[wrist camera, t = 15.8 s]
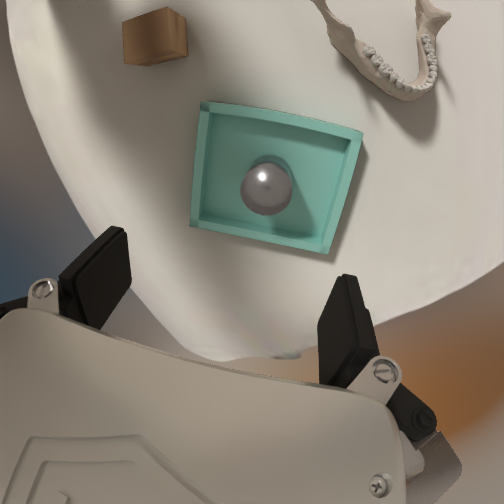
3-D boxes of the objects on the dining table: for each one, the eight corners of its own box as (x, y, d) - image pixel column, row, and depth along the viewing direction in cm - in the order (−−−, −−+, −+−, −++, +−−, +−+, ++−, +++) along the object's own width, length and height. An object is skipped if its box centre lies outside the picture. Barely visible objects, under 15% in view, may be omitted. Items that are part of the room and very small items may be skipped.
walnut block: (147, 66, 24) (124, 63, 20) (145, 29, 22) (122, 22, 17) (188, 56, 23) (170, 49, 19) (185, 18, 21) (167, 6, 17)
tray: (195, 217, 33) (189, 226, 31) (207, 101, 26) (201, 101, 24) (325, 244, 33) (327, 254, 31) (358, 130, 25) (363, 133, 23)
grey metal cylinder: (246, 191, 30) (236, 210, 25) (252, 151, 28) (244, 162, 23) (287, 199, 30) (286, 220, 25) (296, 159, 28) (296, 172, 23)
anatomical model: (363, 122, 24) (372, 81, 15) (317, 44, 24) (303, -10, 14) (458, 94, 20) (495, 56, 10) (409, 21, 19) (422, -30, 10)
